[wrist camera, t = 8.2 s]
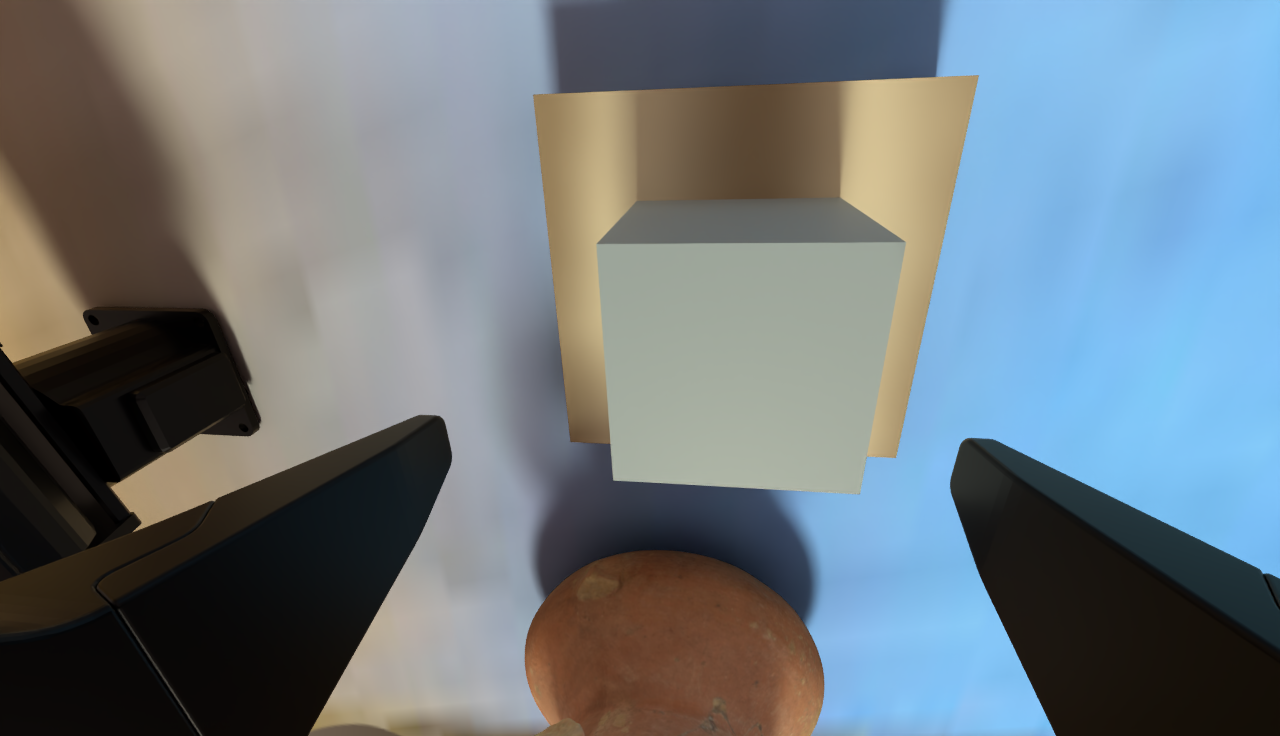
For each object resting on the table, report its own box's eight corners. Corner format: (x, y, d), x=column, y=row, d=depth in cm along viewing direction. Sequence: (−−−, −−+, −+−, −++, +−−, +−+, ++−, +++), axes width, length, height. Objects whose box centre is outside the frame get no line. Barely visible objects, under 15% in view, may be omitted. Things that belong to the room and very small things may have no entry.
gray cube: (643, 375, 19) (613, 480, 13) (637, 200, 16) (596, 244, 11) (817, 380, 18) (859, 494, 12) (840, 197, 15) (906, 242, 10)
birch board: (587, 404, 23) (570, 441, 20) (560, 97, 18) (533, 94, 15) (873, 415, 21) (895, 457, 19) (935, 81, 16) (978, 75, 14)
